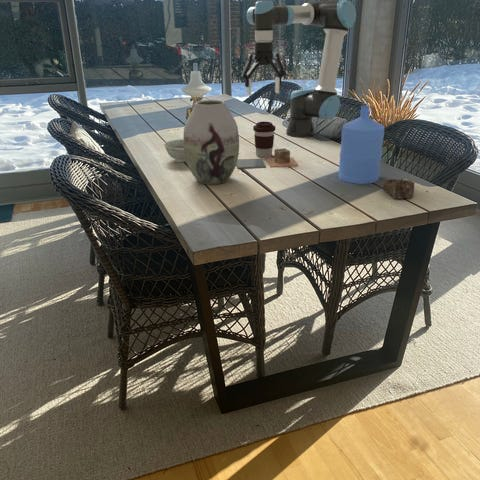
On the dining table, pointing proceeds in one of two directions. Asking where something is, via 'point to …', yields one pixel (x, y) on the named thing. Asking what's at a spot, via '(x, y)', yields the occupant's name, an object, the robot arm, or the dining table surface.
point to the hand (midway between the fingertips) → (263, 93)
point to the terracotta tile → (275, 164)
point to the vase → (211, 142)
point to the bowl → (176, 150)
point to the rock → (399, 188)
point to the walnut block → (282, 156)
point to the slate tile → (250, 163)
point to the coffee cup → (264, 138)
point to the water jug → (361, 149)
